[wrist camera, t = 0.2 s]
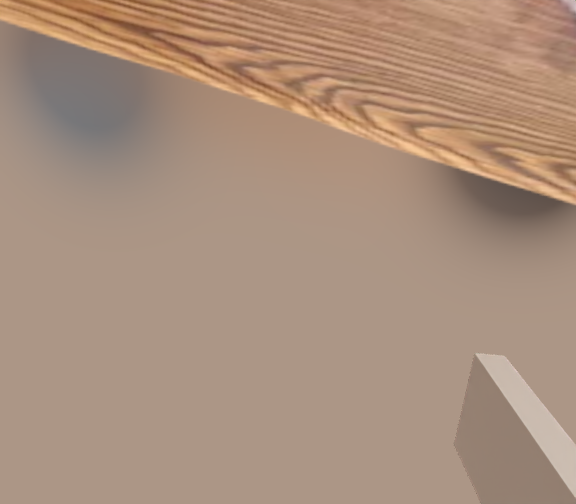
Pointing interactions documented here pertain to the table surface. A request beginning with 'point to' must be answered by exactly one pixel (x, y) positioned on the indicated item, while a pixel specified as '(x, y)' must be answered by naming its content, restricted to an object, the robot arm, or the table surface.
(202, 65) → the table surface
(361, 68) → the table surface
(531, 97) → the table surface
